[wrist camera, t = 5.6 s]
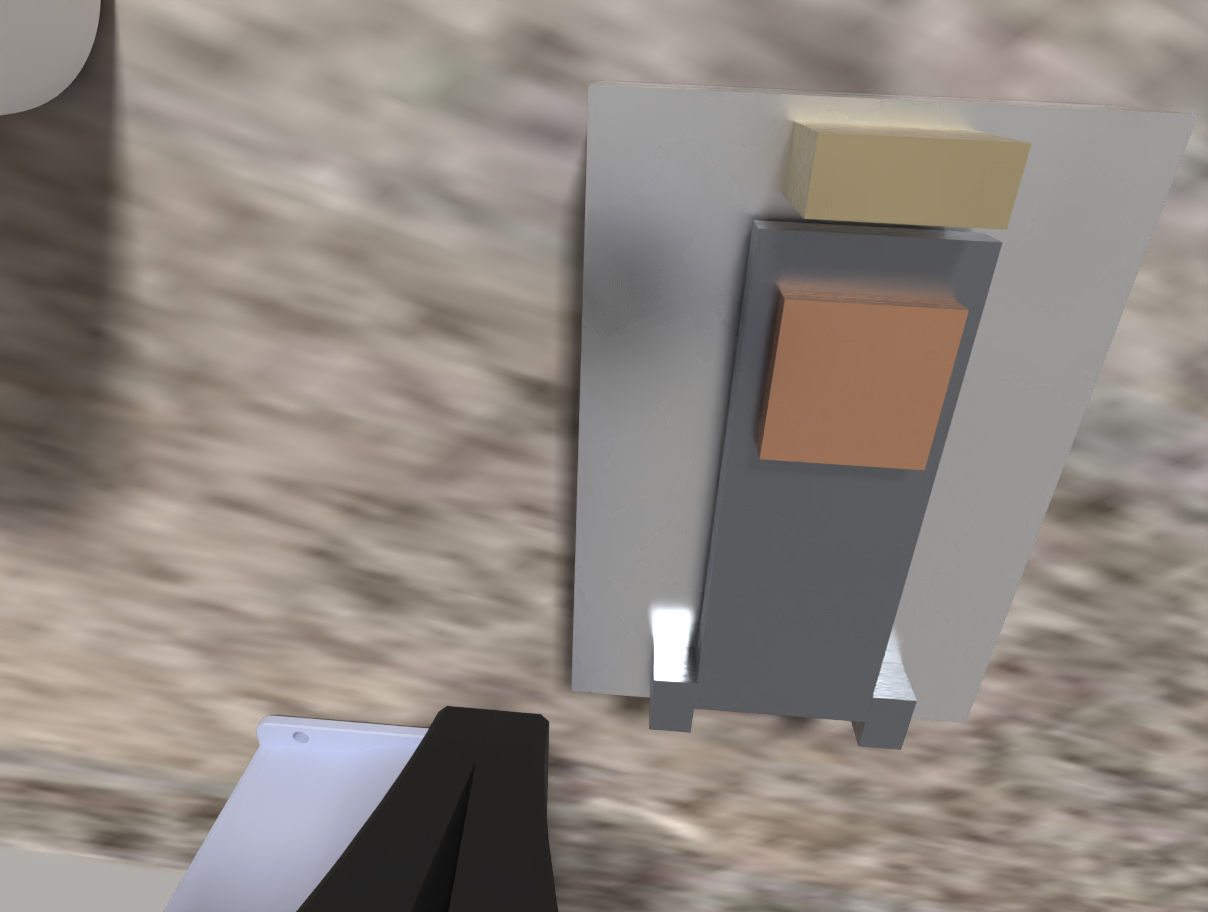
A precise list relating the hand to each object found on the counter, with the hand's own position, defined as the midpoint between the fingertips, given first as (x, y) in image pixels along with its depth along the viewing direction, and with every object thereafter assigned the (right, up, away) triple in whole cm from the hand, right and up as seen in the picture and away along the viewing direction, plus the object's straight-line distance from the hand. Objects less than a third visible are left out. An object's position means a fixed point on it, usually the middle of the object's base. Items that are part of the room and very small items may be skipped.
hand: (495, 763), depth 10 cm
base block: (+6, +5, +8) cm, 12 cm away
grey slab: (+6, +3, +6) cm, 9 cm away
